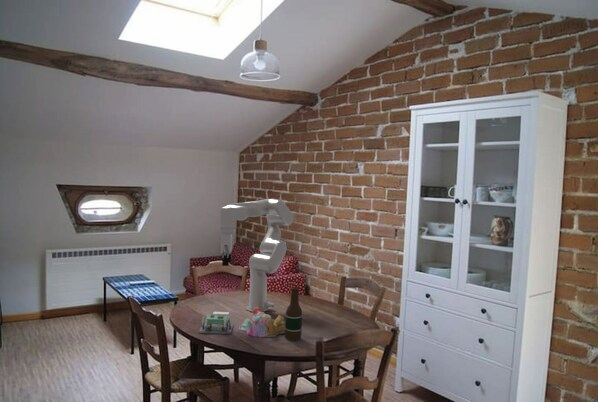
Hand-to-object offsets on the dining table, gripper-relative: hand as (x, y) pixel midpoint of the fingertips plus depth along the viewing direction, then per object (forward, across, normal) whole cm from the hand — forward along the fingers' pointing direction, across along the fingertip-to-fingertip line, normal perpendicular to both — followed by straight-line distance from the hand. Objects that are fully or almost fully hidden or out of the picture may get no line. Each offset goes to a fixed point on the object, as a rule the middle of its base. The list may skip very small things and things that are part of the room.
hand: (226, 263), depth 230 cm
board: (+26, +14, -2) cm, 30 cm away
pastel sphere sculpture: (+30, +12, +20) cm, 38 cm away
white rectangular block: (+30, -1, -2) cm, 30 cm away
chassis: (+30, +14, -2) cm, 33 cm away
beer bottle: (+30, +24, +34) cm, 51 cm away
